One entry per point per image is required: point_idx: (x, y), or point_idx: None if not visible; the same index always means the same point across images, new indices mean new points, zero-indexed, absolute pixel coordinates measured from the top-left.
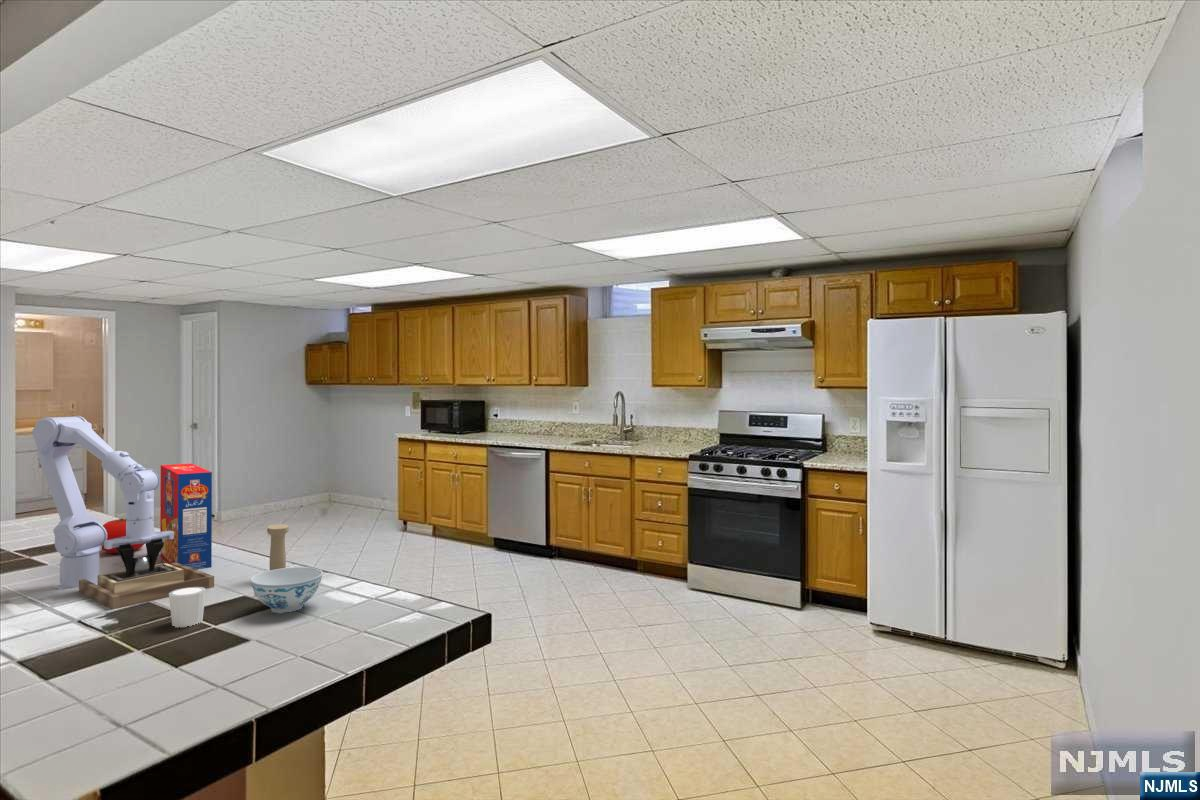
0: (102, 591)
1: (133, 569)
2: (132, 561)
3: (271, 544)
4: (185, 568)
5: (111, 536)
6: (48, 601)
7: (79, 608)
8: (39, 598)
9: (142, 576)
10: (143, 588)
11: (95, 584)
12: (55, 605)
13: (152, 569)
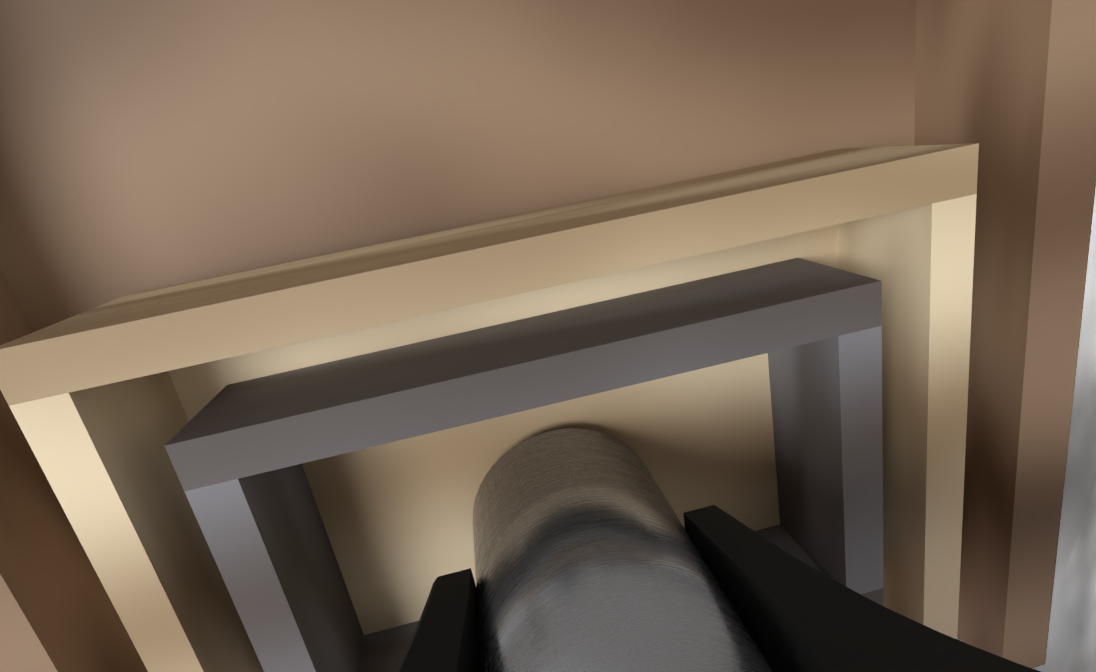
0: None
1: (702, 558)
2: (802, 625)
3: None
4: (11, 595)
5: None
6: (1073, 546)
7: None
8: (1075, 648)
9: (605, 344)
10: (582, 206)
11: (1023, 406)
12: (1088, 412)
13: (447, 582)
